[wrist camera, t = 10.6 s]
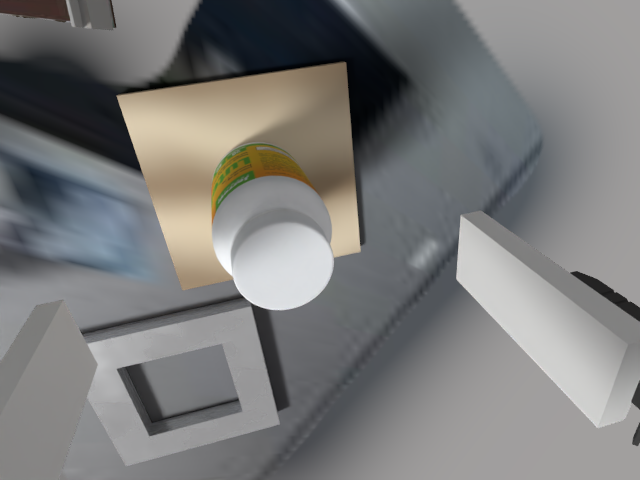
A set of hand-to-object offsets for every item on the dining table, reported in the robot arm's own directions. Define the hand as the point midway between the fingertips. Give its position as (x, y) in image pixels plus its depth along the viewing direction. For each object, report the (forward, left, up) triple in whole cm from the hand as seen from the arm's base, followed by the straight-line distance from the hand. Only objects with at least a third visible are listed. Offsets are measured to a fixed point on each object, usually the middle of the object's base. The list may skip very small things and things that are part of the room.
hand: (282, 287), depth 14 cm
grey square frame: (+14, -8, -12) cm, 21 cm away
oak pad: (0, 0, -12) cm, 12 cm away
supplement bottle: (0, 0, -12) cm, 12 cm away
